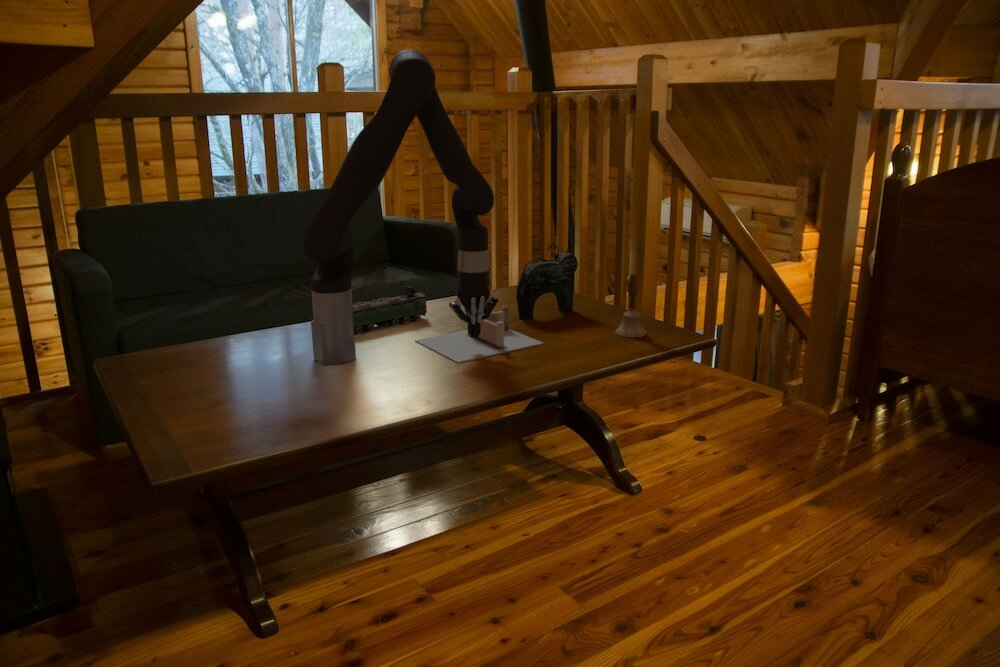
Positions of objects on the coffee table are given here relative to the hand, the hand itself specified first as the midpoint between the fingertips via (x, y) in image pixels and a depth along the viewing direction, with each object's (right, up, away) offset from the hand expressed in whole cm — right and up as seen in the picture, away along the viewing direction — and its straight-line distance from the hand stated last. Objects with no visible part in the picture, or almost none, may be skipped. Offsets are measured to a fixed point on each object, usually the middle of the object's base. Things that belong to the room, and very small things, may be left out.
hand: (474, 337), depth 192 cm
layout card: (+1, -2, +8) cm, 8 cm away
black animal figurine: (+20, +6, +34) cm, 40 cm away
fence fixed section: (+3, +1, +16) cm, 16 cm away
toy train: (-27, +2, +22) cm, 35 cm away
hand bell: (+41, +1, +15) cm, 44 cm away
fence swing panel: (+3, -1, +7) cm, 8 cm away
